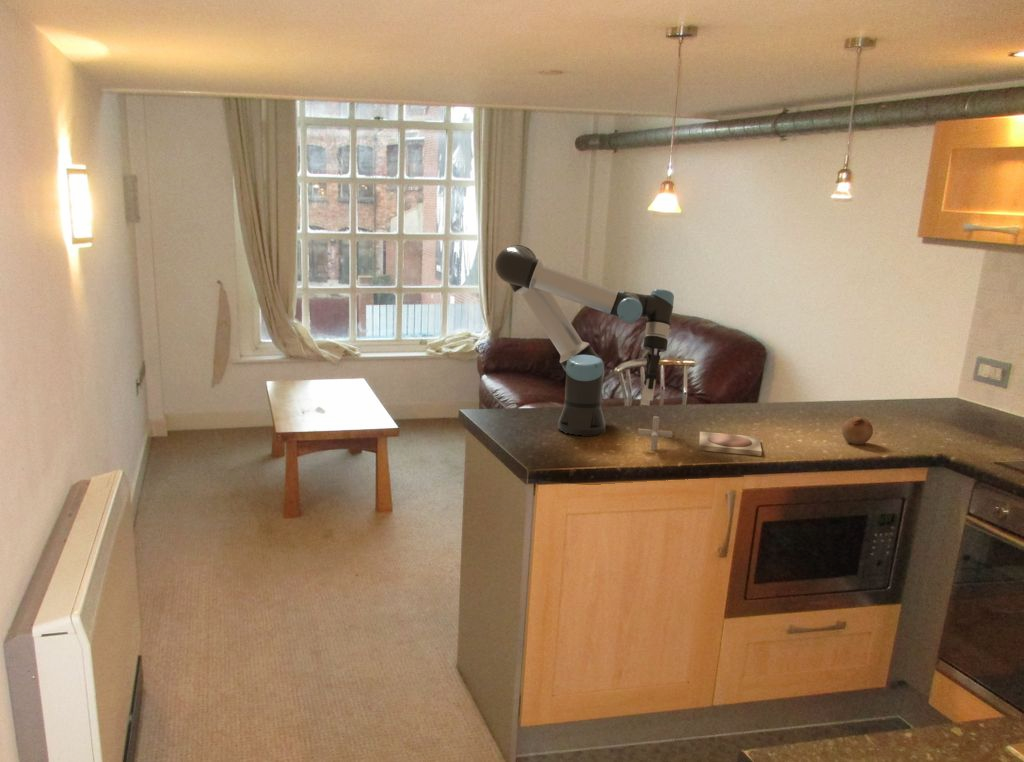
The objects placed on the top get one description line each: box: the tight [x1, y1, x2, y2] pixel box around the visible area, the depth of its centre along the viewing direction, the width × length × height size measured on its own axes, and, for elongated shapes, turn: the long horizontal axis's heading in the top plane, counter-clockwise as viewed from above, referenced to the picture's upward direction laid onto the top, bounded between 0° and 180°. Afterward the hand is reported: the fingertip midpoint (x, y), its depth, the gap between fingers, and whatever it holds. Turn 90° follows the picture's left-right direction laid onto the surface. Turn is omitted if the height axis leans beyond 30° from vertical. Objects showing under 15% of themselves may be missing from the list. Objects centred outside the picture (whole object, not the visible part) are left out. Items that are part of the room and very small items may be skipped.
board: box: [698, 431, 763, 457], centre depth 249 cm, size 18×16×2 cm
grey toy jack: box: [637, 415, 673, 451], centre depth 241 cm, size 10×10×10 cm
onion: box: [841, 416, 874, 445], centre depth 256 cm, size 9×9×10 cm
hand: (646, 402), depth 259 cm, fingers open, 13 cm apart
